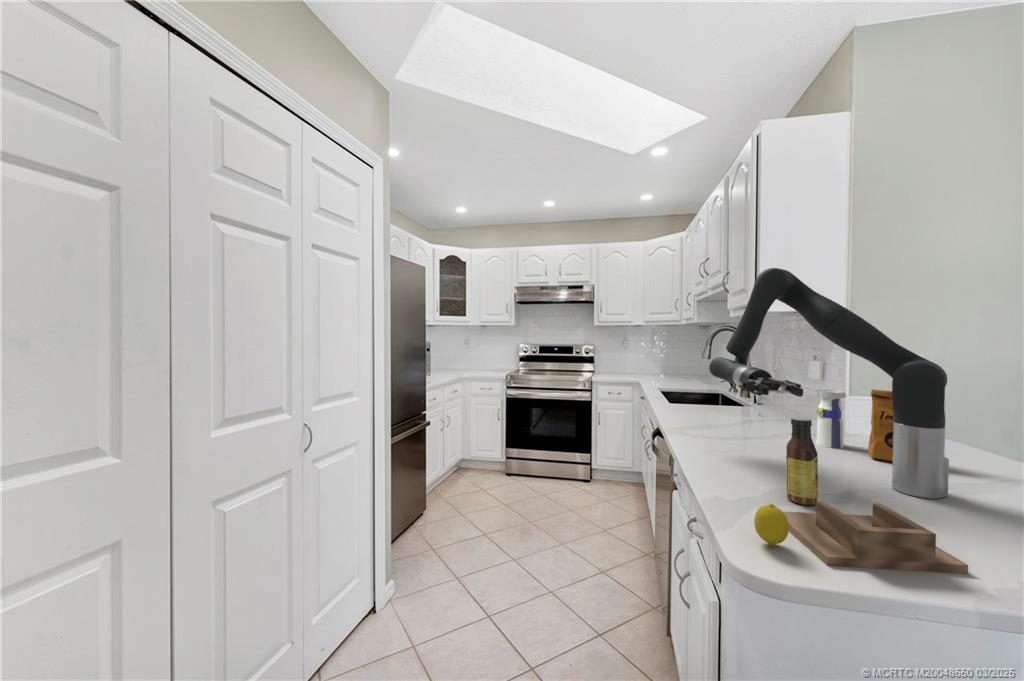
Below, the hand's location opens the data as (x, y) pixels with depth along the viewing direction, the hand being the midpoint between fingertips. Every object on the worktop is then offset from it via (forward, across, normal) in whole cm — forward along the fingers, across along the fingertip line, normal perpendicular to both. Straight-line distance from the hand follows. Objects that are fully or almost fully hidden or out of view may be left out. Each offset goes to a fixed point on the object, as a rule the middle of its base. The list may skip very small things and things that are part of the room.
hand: (784, 392), depth 106 cm
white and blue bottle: (-37, +40, +27) cm, 61 cm away
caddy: (+30, -1, +23) cm, 38 cm away
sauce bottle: (+11, 0, +24) cm, 27 cm away
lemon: (+32, -19, +23) cm, 44 cm away
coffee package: (-21, +48, +25) cm, 58 cm away
